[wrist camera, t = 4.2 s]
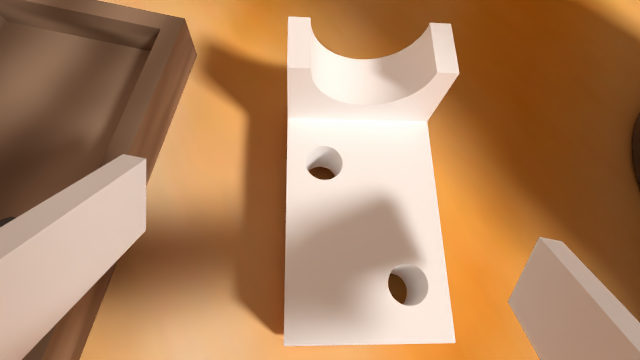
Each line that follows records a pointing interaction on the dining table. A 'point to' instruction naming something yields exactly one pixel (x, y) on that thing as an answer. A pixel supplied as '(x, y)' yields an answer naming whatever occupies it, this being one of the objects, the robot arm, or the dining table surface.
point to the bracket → (364, 193)
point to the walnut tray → (82, 111)
